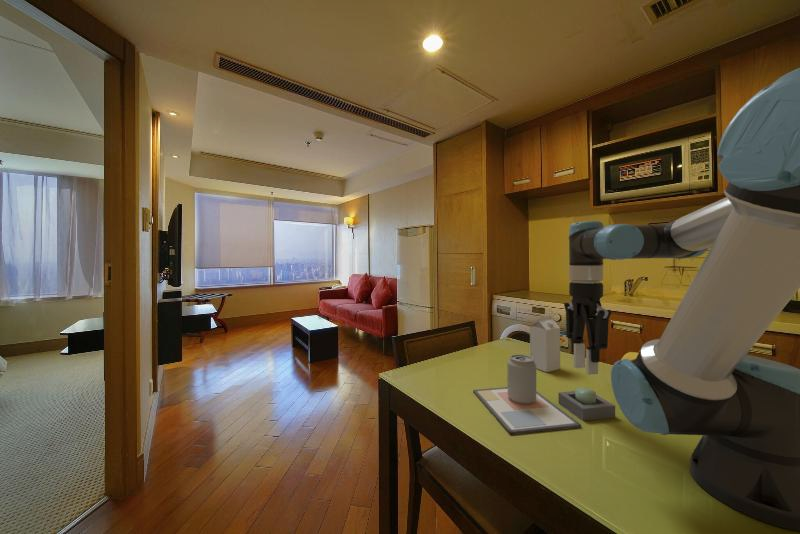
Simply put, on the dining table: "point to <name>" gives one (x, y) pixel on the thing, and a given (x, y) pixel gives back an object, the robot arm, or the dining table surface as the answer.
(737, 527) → the dining table surface
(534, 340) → the milk carton
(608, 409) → the button housing
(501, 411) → the picture sheet
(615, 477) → the dining table surface
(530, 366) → the can
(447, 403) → the dining table surface
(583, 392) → the button
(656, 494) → the dining table surface
